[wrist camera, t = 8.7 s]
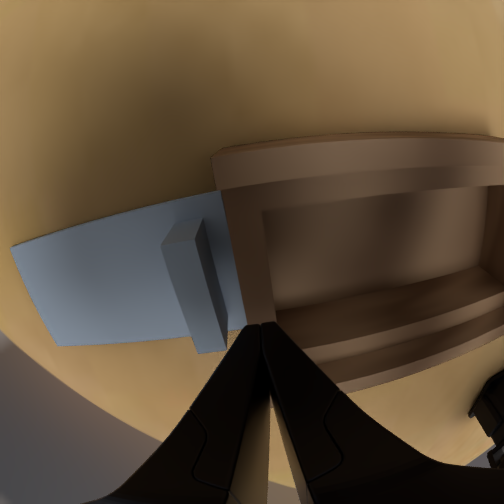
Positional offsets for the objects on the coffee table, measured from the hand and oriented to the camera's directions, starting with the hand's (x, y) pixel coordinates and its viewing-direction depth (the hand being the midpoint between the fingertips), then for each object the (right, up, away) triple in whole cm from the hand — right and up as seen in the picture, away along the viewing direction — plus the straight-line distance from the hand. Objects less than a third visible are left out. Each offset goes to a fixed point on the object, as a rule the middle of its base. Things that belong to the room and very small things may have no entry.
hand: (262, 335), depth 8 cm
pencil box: (+6, +3, +4) cm, 8 cm away
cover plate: (-7, +1, +5) cm, 9 cm away
